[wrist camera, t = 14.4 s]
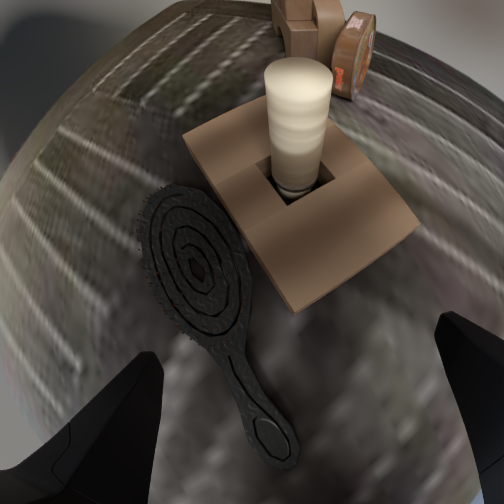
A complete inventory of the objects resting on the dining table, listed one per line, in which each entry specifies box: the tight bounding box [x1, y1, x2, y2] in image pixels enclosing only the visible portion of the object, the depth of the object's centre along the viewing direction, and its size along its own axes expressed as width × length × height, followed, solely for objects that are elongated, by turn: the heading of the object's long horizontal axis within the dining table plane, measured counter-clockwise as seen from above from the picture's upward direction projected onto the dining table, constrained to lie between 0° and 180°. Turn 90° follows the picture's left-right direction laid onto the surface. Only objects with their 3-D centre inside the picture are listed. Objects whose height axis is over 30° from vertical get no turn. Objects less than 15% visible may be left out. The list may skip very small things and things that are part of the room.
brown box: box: [182, 95, 421, 316], centre depth 23 cm, size 18×12×3 cm, turn 31°
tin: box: [331, 11, 376, 101], centre depth 25 cm, size 15×3×8 cm, turn 154°
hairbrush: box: [136, 184, 300, 470], centre depth 20 cm, size 8×4×25 cm
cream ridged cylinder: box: [264, 57, 333, 204], centre depth 19 cm, size 4×4×12 cm
